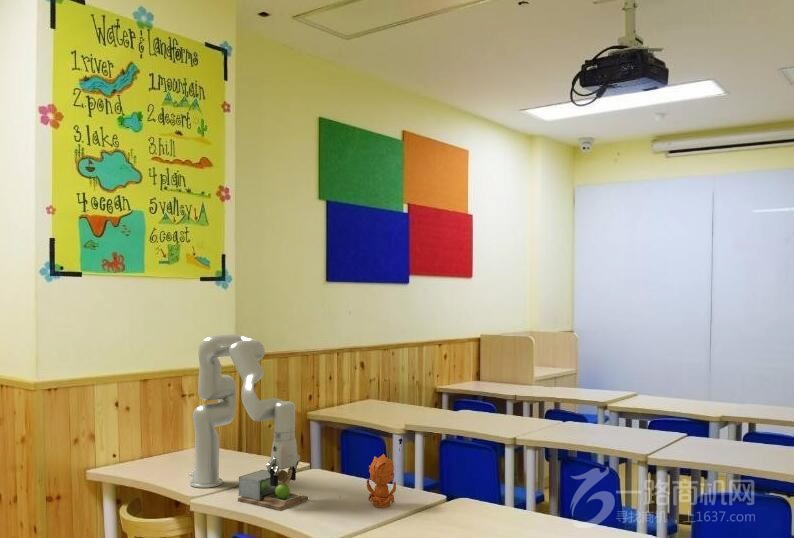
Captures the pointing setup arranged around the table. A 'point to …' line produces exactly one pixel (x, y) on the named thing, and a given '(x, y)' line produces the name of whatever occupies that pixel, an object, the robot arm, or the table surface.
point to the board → (275, 501)
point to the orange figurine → (381, 481)
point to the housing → (255, 485)
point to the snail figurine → (283, 484)
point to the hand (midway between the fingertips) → (283, 482)
